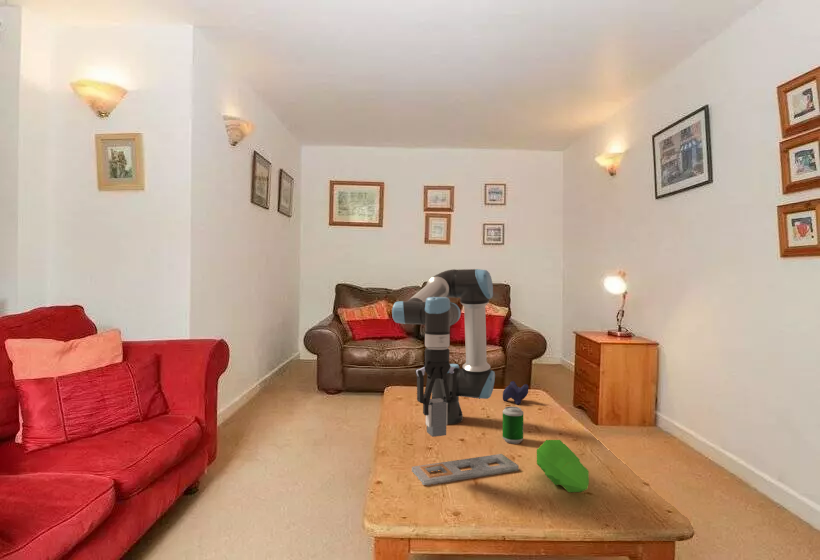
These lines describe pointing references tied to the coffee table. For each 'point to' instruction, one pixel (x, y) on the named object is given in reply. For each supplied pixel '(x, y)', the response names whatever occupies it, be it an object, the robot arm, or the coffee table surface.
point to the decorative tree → (562, 466)
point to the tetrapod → (515, 392)
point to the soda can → (513, 425)
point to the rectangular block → (438, 417)
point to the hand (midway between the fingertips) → (436, 424)
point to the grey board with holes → (455, 474)
